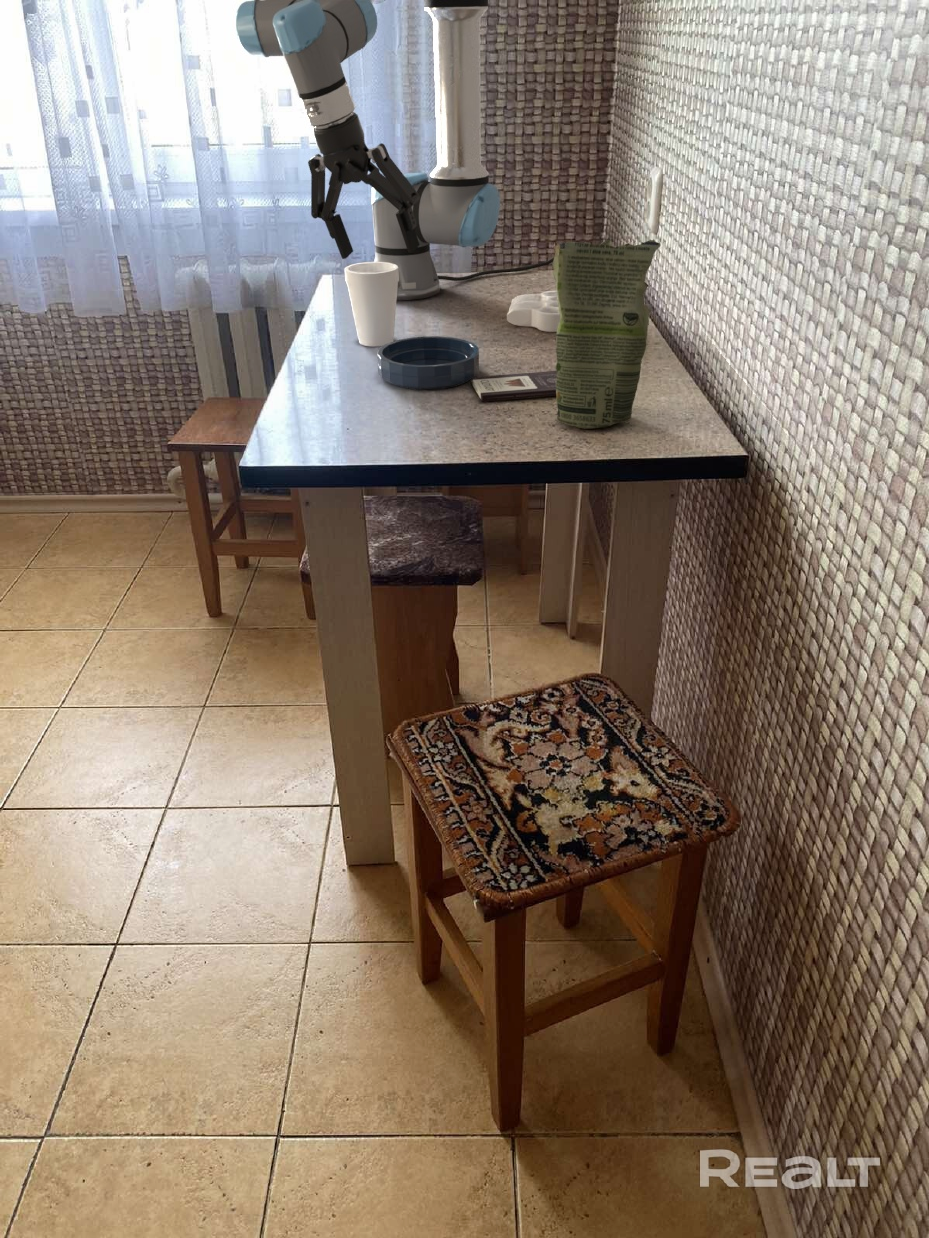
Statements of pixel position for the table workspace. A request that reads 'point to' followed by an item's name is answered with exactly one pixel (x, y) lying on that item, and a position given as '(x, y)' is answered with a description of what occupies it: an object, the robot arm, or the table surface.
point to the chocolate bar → (515, 386)
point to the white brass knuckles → (535, 311)
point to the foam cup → (373, 300)
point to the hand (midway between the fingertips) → (380, 252)
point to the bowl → (428, 362)
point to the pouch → (600, 330)
